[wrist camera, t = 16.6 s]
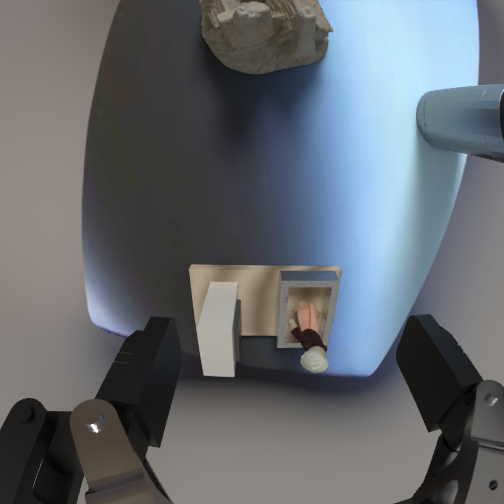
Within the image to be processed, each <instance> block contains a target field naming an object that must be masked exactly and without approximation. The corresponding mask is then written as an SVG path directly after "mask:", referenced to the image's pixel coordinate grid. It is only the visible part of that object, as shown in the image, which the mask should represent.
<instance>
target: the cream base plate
mask: <svg viewBox="0 0 504 504" xmlns="http://www.w3.org/2000/svg"><path fill="white" fill-rule="evenodd" d="M280 270H288V271H335V272H336V274H337V276H338V278H339V280H340V276H341V269H340V267H339V266H253V265H191V266H190V268H189V272H190V281H191V290H192V299H193V307H194V314H195V322H196V329H197V326H198V322H199V319H200V316H201V312H202V309H203V305H204V302H205V298H206V295H207V292H208V288H209V285H210V282H238V299H239V300H241V321H242V335H249V336H276V331H277V316H278V301H279V284H280ZM325 290H326V287H289V292H288V304H287V316H286V327H285V331H291V329H290V326H289V325H288V320H289V319H294V320H295V322H296V324H297V326H298V327H299V328H300V326H299V323H298V319H297V315H296V314H295V313H294V312H293V309H294V308H295V306H296V305H297V304H298V302H300V301H306V302H308V303H309V304H310V303H312V304H314V305H315V308H316V309H317V310H319V311H320V317H319V318H318V319H317V327H318V330H319V327H320V322H321V316H322V310H323V303H324V297H325ZM300 330H301V328H300Z"/></svg>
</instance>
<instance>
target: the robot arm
mask: <svg viewBox="0 0 504 504" xmlns="http://www.w3.org/2000/svg"><path fill="white" fill-rule="evenodd" d="M417 120H418V125H419V128H420V130H421V133H422V134H423V136H424V138H425V139H426V140H427V141H428V142H429V143H430V144H431V145H432V146H434V147H436V148H439V149H444V150H449V151H454V152H459V153H464V154H468V155H473V156H477V157H482V158H486V159H490V160H494V161H497V162H501V163H504V84H494V85H479V86H468V87H458V88H450V89H442V90H435V91H430V92H428V93H426V94H424V95H423V96H422V98H421V99H420V101H419V104H418V107H417ZM396 359H397V364H398V366H399V368H400V370H401V372H402V374H403V376H404V379H405V381H406V383H407V385H408V387H409V389H410V391H411V393H412V396H413V398H414V400H415V402H416V405H417V407H418V409H419V411H420V414H421V416H422V418H423V421H424V423H425V425H426V428H427V430H428V432H432V431H435V430H438V429H441V431H442V433H441V435H440V436H439V438H438V440H437V444H436V447H435V450H434V453H433V456H432V460H431V462H430V466H429V468H428V471H427V474H426V476H425V479H424V481H423V483H422V484H421V486H420V487H419V488H418V490H417V491H416V492H415V493H414V495H413V497H412V498H410V499H407V500H404V501H401V502H398V503H395V504H504V387H503V386H502V385H501V384H500V383H498V382H496V381H493V380H485V381H484V380H483V379H482V377H481V376H480V374H479V373H478V371H477V370H476V368H475V367H474V365H473V364H472V362H471V361H470V360H469V358H468V357H467V355H466V354H465V353H463V350H462V348H461V347H460V345H458V343H457V341H456V340H455V339H454V337H453V336H452V335H451V334H450V333H449V332H448V331H447V330H445V329H444V328H442V327H441V326H439V324H438V323H437V322H436V320H435V319H434V318H433V316H432V315H430V314H423V315H413V316H410V317H409V319H408V321H407V324H406V326H405V329H404V332H403V335H402V337H401V340H400V342H399V345H398V348H397V352H396ZM181 367H182V351H181V346H180V341H179V336H178V331H177V326H176V321H175V319H174V318H166V317H151V318H150V319H149V321H148V323H147V325H146V327H145V329H144V331H140V330H136V331H135V332H134V333H133V334H131V335H130V336H129V337H128V338H127V339H125V341H124V343H123V345H122V347H121V349H120V352H119V353H118V354H117V356H116V358H115V362H113V364H112V366H111V367H110V369H109V371H108V373H107V375H106V377H105V379H104V381H103V383H102V385H101V387H100V389H99V391H98V393H97V395H96V397H95V398H94V399H90V400H86V401H84V402H82V403H80V404H79V405H77V407H75V408H74V410H73V411H71V412H67V411H65V412H64V411H47V410H46V409H45V408H44V406H43V405H42V403H40V402H39V401H38V400H36V399H33V398H26V399H22V400H20V401H18V402H17V403H16V404H15V405H14V406H13V407H12V409H11V410H10V412H9V414H8V416H7V418H6V420H5V422H4V423H3V425H2V427H1V429H0V504H77V500H78V495H79V492H80V488H81V484H82V481H83V477H84V475H85V478H86V480H87V483H88V487H89V490H88V491H87V492H86V493H85V501H86V504H174V503H173V502H172V500H171V499H170V497H169V496H168V494H167V493H166V491H165V489H164V488H163V486H162V485H161V483H160V481H159V479H158V478H157V476H156V474H155V472H154V471H153V469H152V467H151V465H150V464H149V462H148V460H147V458H146V453H147V449H148V446H152V447H158V448H160V445H161V441H162V437H163V433H164V430H165V426H166V422H167V418H168V415H169V411H170V407H171V403H172V400H173V396H174V392H175V389H176V385H177V382H178V378H179V375H180V371H181ZM42 460H43V461H42ZM41 462H42V464H41ZM40 464H41V467H40ZM39 467H40V470H39ZM38 470H39V472H38ZM37 473H38V475H37ZM36 476H37V478H36ZM35 478H36V481H35ZM34 481H35V484H34ZM33 484H34V487H33Z"/></svg>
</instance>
